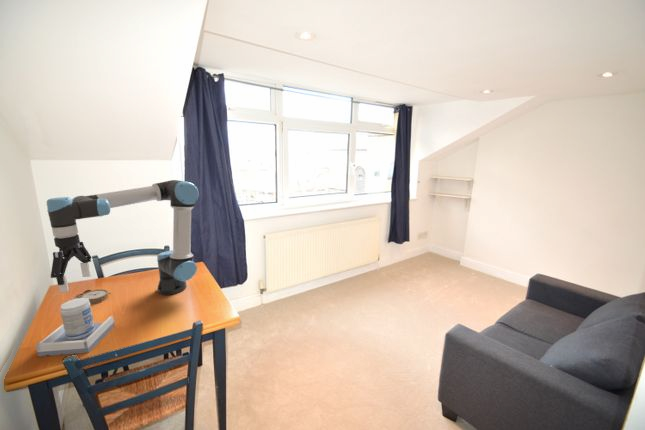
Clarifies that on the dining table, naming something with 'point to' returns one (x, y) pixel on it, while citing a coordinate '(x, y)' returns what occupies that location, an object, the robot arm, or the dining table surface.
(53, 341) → the dock
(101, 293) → the alarm clock
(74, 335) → the supplement tub
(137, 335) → the dining table surface
